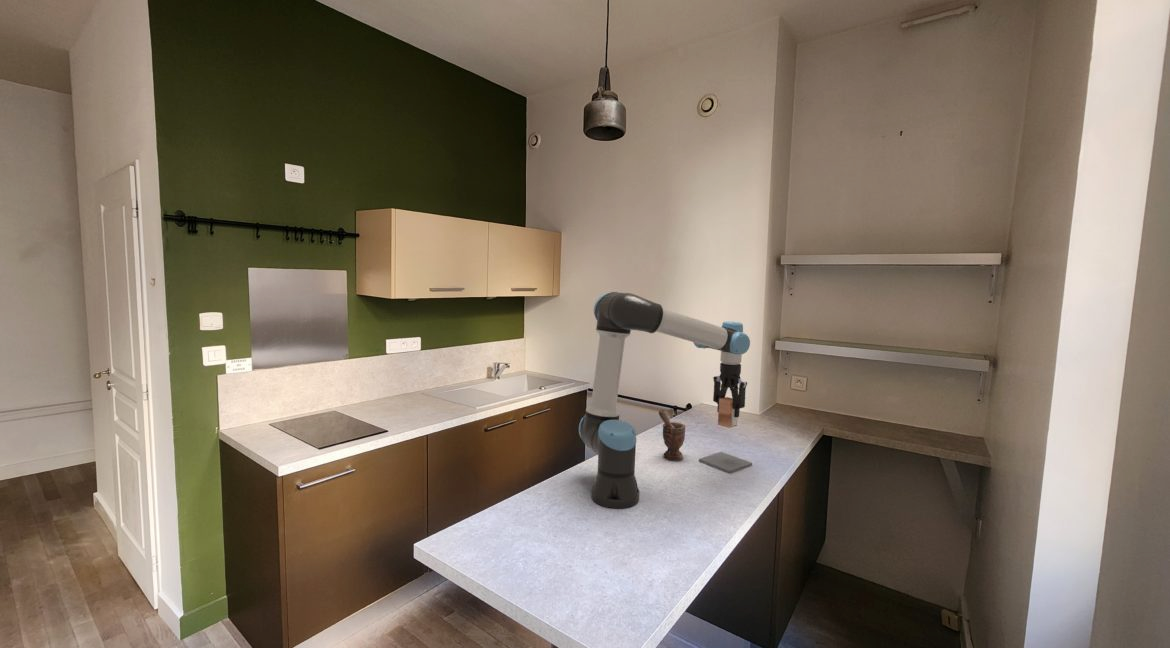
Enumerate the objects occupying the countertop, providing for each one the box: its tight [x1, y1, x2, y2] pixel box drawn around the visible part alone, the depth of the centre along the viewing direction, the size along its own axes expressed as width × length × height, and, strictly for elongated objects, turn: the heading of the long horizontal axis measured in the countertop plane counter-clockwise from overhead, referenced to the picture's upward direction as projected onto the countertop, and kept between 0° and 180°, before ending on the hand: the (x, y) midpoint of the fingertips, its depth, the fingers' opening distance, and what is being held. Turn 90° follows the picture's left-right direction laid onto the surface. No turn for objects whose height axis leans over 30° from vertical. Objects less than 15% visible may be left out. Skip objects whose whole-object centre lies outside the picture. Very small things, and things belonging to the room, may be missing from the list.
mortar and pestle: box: [658, 409, 686, 461], centre depth 182 cm, size 12×9×20 cm
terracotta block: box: [717, 396, 739, 429], centre depth 178 cm, size 5×5×10 cm
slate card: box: [698, 451, 753, 474], centre depth 180 cm, size 14×14×1 cm
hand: (727, 423), depth 178 cm, fingers closed on terracotta block, 5 cm apart
